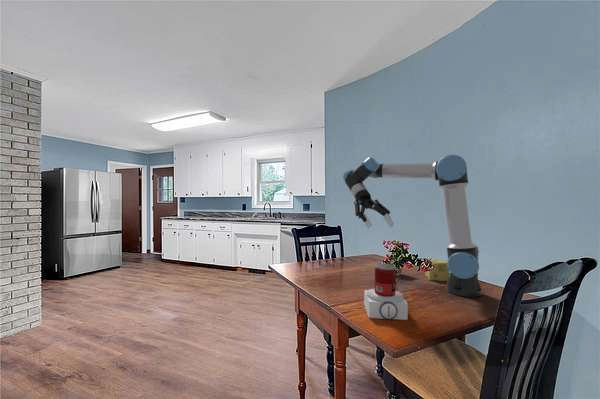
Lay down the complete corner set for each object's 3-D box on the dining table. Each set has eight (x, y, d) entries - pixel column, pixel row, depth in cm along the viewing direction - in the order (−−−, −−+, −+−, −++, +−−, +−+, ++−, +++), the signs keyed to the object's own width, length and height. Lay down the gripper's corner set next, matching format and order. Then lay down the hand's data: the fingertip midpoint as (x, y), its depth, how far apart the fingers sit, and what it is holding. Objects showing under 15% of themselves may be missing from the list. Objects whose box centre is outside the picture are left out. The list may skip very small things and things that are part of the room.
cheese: (429, 280, 161) (429, 262, 161) (424, 275, 172) (424, 258, 172) (449, 281, 160) (449, 263, 160) (443, 276, 170) (443, 259, 170)
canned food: (396, 297, 111) (397, 268, 111) (375, 296, 113) (375, 267, 113) (394, 291, 119) (394, 264, 119) (373, 289, 120) (374, 263, 120)
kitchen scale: (398, 305, 122) (398, 289, 122) (408, 321, 107) (408, 301, 107) (364, 304, 123) (364, 287, 123) (369, 319, 108) (369, 300, 108)
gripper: (376, 199, 159) (396, 230, 145) (337, 198, 147) (356, 232, 134) (383, 189, 154) (405, 220, 141) (344, 188, 142) (364, 221, 129)
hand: (381, 226), depth 137 cm, fingers open, 13 cm apart
